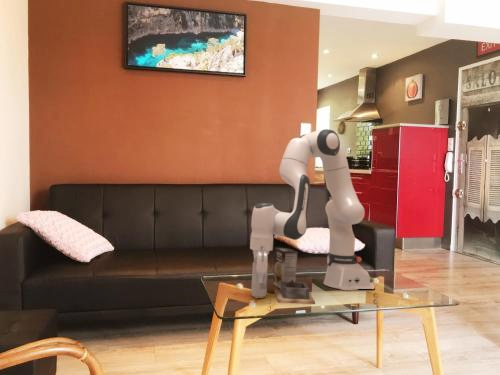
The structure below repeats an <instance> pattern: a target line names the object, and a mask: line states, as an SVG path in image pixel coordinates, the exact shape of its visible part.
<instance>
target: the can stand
mask: <svg viewBox="0 0 500 375" xmlns="http://www.w3.org/2000/svg"><path fill="white" fill-rule="evenodd" d="M274 295H275V297H276V300H277V303H282V304H307V305H315V304H316V300H315V299H314V297H313V296H312V294H311V293H310V288H309V286H308V285H307V283H306V282H304V281H303V282H302V281H301V282H300V281H295V282H282V281H281V283H280V288H279V289H274Z"/></svg>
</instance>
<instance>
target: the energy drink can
mask: <svg viewBox="0 0 500 375" xmlns="http://www.w3.org/2000/svg"><path fill="white" fill-rule="evenodd" d="M262 262H263V261H262ZM251 272H252V273H251V288H250V289H251V290H250V295H251V297H252V296H254V297H257V298H263V297H265V298H266V296H267V294H268V293H267V291H268V290H267V289H268V277H269V276H268V274H269V262H268V261H267V273H266V274H264V276H263V282H262V283H258V273H257V270H256V258H255V260H254V259H253V262H252V271H251ZM263 299H264V298H263Z"/></svg>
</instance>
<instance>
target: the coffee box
mask: <svg viewBox="0 0 500 375" xmlns="http://www.w3.org/2000/svg"><path fill="white" fill-rule="evenodd" d="M274 249H275V251H274V264H273V265H274V267H273V282H272V283H273V286H275V287H277V288H279V289H280V283H281V281H282V282H296V278H297V277H296V276H297V263H298V251H296V250H293V249H290V248H288V247H285V248H284V247H275V248H274Z"/></svg>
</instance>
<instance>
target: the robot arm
mask: <svg viewBox="0 0 500 375" xmlns="http://www.w3.org/2000/svg"><path fill="white" fill-rule="evenodd" d="M311 158H313V159H314V158H320V159H321V163H322V170H323V171H322V172H323V175H324V180H325V186H326V189H327V190H328V192H329V194H330V196H331V199H330V200H328V202H326V204H325V213H326V216H327V223H328V230H329V244H328V245H329V246H328V248H329V249H328V253H327V257H326V263H327V264H326V265H327V269H326V273H325V276H324V279H323V284H324V285H325V286H327V287H330V288H334V289H339V290H341V291H354V290H353V289H372V288H375V289H376V286H375V285H374V284H373V282H371V277H370V274H369V272H368V271H367V270H366V269H365V268H364V267H363V266H361V264H359V263H361V262H362V260H363V259H362V258H361V256H358V255H356V254H355V245H356V236H355V234H354V231H353V226H352V225H356V224H359V223H361V222H362V221H363V219H364V218H365V212H366V211H365V208H364V206H363V204H362V203H361V202H360V200H359V198H358V195H357V192H356V191H355V188H354V185H353V181H352V178H351V177H352V176H351V172H350V168H349V163H348V159H347V158H348V157H347V155H346V153H345V150H344V148H343V146H342V145H341V142H340V137H339V136H338V134H337V133H336V131H335V130H333V129H327V128H326V129H322V130H315V131H311V132H309V133H305V134H302V135H300V136H299V137H294V138H292V139H291V140H290V141H289V142H288V144H287V145H286V147H285V150H284V152H283V156H282V158H281V162H280V164H279V168H278V169H279V170H278V172H279V173H278V174H279V176H280V177H281V179H282V180H283V182H285V183H286V184H288V185H289V186H291V187H292V188H293V189H294V193H295V195H294V202H293V209H292V211H291V212H284V211H280V210H278V209H277V208H275V206H274V204H273V203H271V202H260V203H256V204H255V205H254V207H253V209H252V214H251V223H250V224H251V227H250V228H251V233H250V244H249V249H250V250H252V254H253V261H254V260H255V258H256V270H257V273H258V283H262V282H263V276H264V274H266V273H267V262H268V255H269V254H270V252H271V251H273V247H274V235H275V236H278V237H285V238H286V239H287V238H288V239H290V240H295V241H296V240H299V239H301V238H302V237H304V235H305V233H306V232H307V229H308V228H307V227H308V221H307V220H308V216H307V215H308V208H309V207H308V206H309V200H310V189H311V181H310V178H309V177H308V174H307V171H308V166H309V163H310V159H311ZM262 261H263V262H262ZM372 286H375V287H372Z"/></svg>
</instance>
